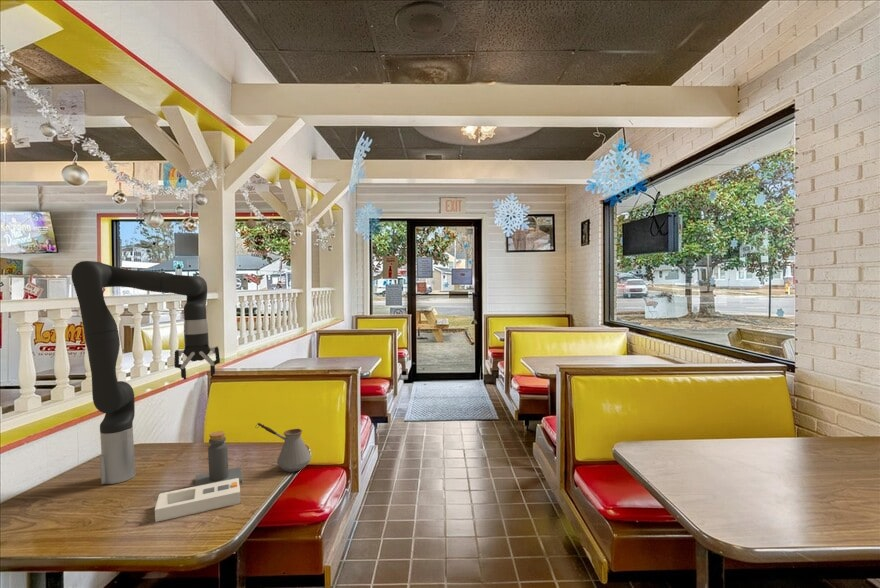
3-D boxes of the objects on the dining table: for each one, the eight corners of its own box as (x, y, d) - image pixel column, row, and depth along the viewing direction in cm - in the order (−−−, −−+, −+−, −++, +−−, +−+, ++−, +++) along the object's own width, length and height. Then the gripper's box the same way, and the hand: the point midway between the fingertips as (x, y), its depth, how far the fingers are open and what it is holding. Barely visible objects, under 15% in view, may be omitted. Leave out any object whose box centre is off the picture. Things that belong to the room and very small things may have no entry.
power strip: (155, 522, 129) (154, 507, 129) (160, 504, 139) (159, 491, 139) (240, 503, 139) (240, 489, 139) (239, 488, 149) (238, 476, 149)
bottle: (221, 481, 151) (219, 436, 151) (205, 480, 153) (203, 436, 152) (232, 474, 157) (230, 430, 157) (217, 473, 158) (215, 430, 158)
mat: (194, 493, 146) (194, 489, 146) (196, 478, 157) (195, 475, 157) (242, 483, 152) (241, 480, 152) (240, 470, 163) (240, 466, 163)
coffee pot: (317, 462, 168) (315, 421, 167) (298, 475, 157) (296, 432, 157) (269, 456, 175) (267, 417, 174) (247, 469, 164) (245, 427, 163)
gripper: (218, 329, 170) (220, 373, 170) (174, 332, 164) (176, 378, 164) (218, 331, 163) (220, 377, 164) (172, 334, 157) (174, 382, 158)
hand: (198, 377), depth 164 cm, fingers open, 8 cm apart
